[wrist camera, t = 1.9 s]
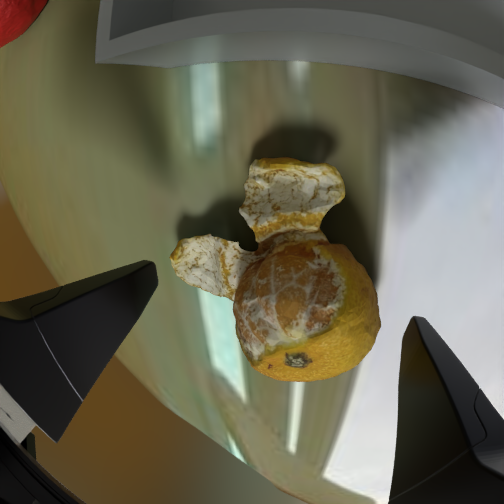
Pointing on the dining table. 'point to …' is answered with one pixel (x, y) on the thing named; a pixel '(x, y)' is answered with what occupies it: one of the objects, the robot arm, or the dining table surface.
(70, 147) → the dining table surface
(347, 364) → the fruit
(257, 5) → the serving bin
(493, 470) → the robot arm
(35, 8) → the pomegranate
